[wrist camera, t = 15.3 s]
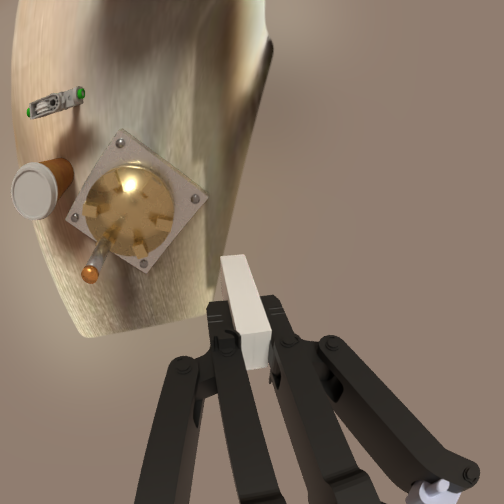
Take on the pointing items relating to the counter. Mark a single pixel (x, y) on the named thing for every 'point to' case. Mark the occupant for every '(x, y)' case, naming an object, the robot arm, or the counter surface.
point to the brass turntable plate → (127, 215)
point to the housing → (135, 152)
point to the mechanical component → (56, 103)
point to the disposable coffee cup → (40, 187)
